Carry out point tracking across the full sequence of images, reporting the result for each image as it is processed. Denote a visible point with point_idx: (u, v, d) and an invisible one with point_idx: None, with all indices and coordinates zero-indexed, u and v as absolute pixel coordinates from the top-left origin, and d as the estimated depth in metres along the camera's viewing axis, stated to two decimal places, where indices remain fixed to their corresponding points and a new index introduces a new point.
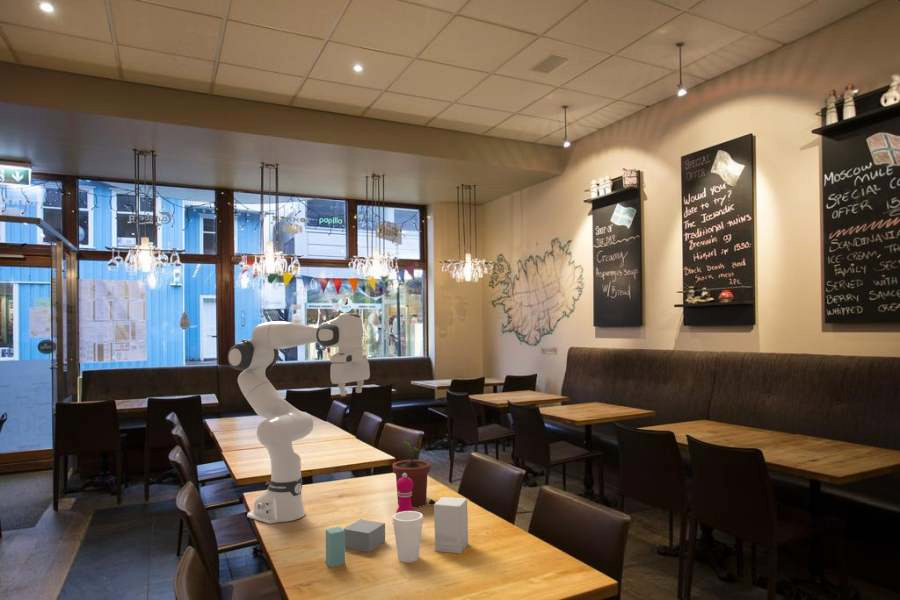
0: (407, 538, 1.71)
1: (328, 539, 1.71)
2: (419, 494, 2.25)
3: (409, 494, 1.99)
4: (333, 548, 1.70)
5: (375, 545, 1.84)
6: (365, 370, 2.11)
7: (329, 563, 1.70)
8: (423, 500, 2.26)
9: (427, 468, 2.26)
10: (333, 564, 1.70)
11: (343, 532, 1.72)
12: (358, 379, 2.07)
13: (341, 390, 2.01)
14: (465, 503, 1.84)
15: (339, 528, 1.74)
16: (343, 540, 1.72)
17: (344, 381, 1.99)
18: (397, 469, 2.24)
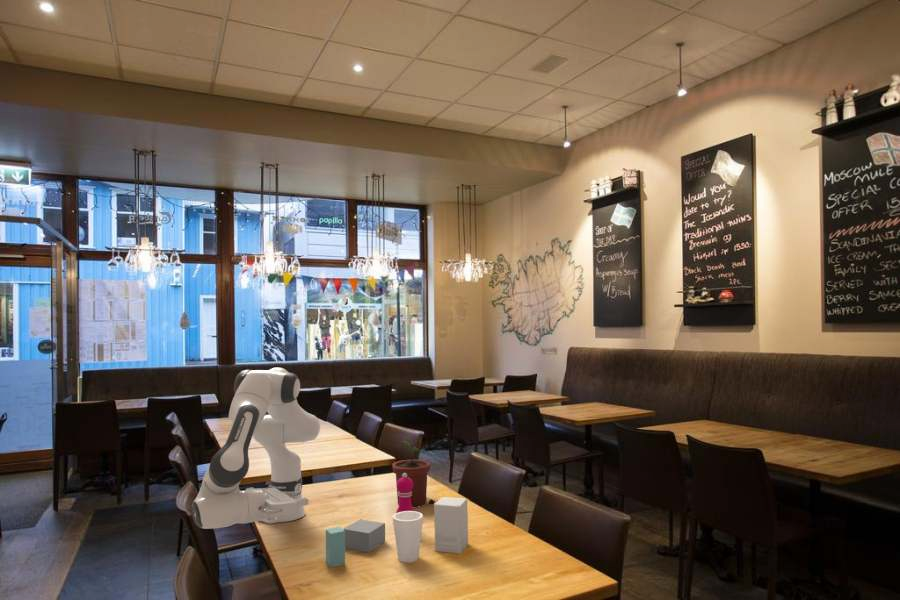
0: (407, 538, 1.71)
1: (328, 539, 1.71)
2: (419, 494, 2.25)
3: (409, 494, 1.99)
4: (333, 548, 1.70)
5: (375, 545, 1.84)
6: None
7: (329, 563, 1.70)
8: (423, 500, 2.26)
9: (427, 468, 2.26)
10: (333, 564, 1.70)
11: (343, 532, 1.72)
12: None
13: None
14: (465, 503, 1.84)
15: (339, 528, 1.74)
16: (343, 540, 1.72)
17: None
18: (397, 469, 2.25)
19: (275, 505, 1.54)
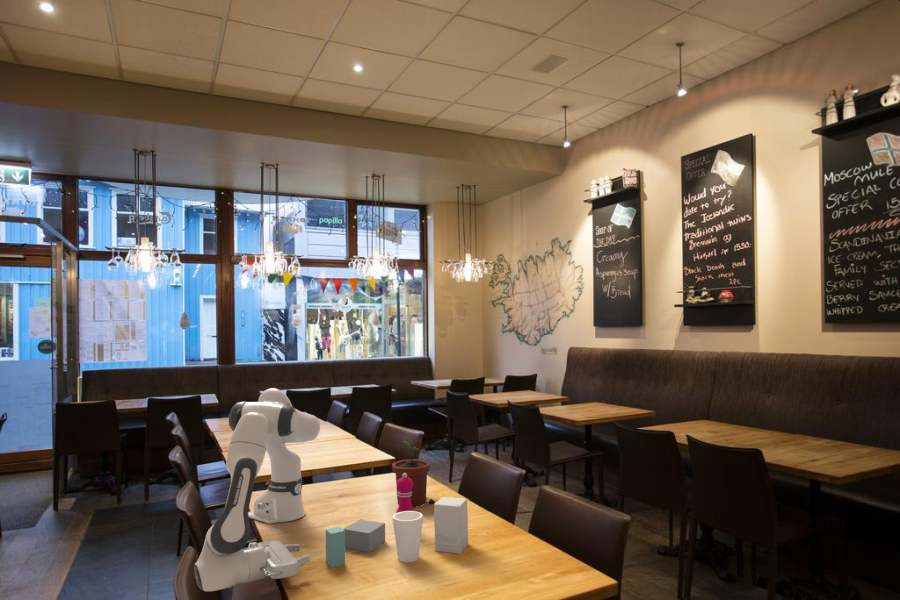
0: (407, 538, 1.71)
1: (328, 539, 1.71)
2: (419, 494, 2.25)
3: (409, 494, 1.99)
4: (333, 548, 1.70)
5: (375, 545, 1.84)
6: None
7: (329, 563, 1.70)
8: (423, 500, 2.27)
9: (427, 468, 2.27)
10: (333, 564, 1.70)
11: (343, 532, 1.72)
12: None
13: None
14: (465, 503, 1.84)
15: (339, 528, 1.74)
16: (343, 540, 1.72)
17: None
18: (397, 469, 2.25)
19: (275, 567, 1.54)
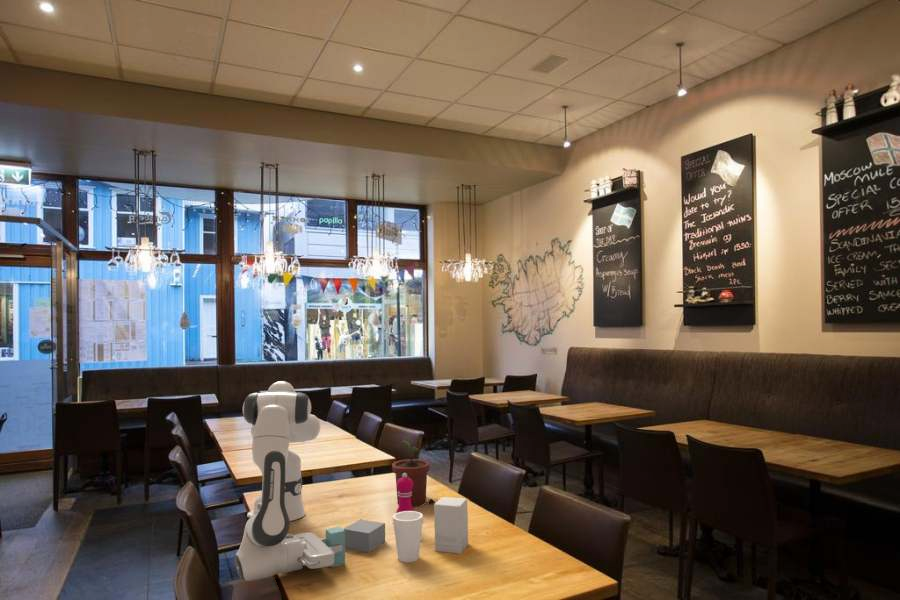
0: (407, 538, 1.71)
1: (328, 539, 1.71)
2: (418, 494, 2.25)
3: (409, 494, 1.99)
4: None
5: (375, 545, 1.84)
6: None
7: None
8: (422, 499, 2.27)
9: (426, 468, 2.27)
10: (333, 564, 1.70)
11: (343, 532, 1.72)
12: None
13: None
14: (465, 503, 1.84)
15: (339, 528, 1.74)
16: (343, 540, 1.72)
17: None
18: (396, 468, 2.25)
19: (313, 557, 1.59)
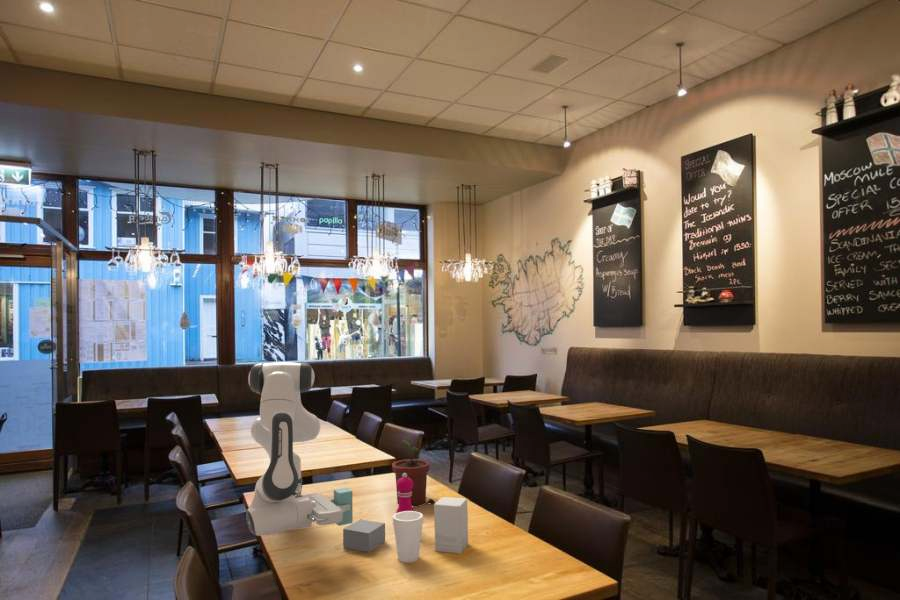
0: (407, 538, 1.71)
1: (336, 499, 1.76)
2: (418, 494, 2.26)
3: (409, 494, 1.99)
4: None
5: (375, 545, 1.84)
6: None
7: None
8: (422, 499, 2.27)
9: (426, 467, 2.27)
10: (341, 523, 1.75)
11: (351, 492, 1.77)
12: None
13: None
14: (465, 503, 1.84)
15: (347, 489, 1.79)
16: (351, 500, 1.77)
17: None
18: (396, 468, 2.26)
19: (322, 514, 1.64)
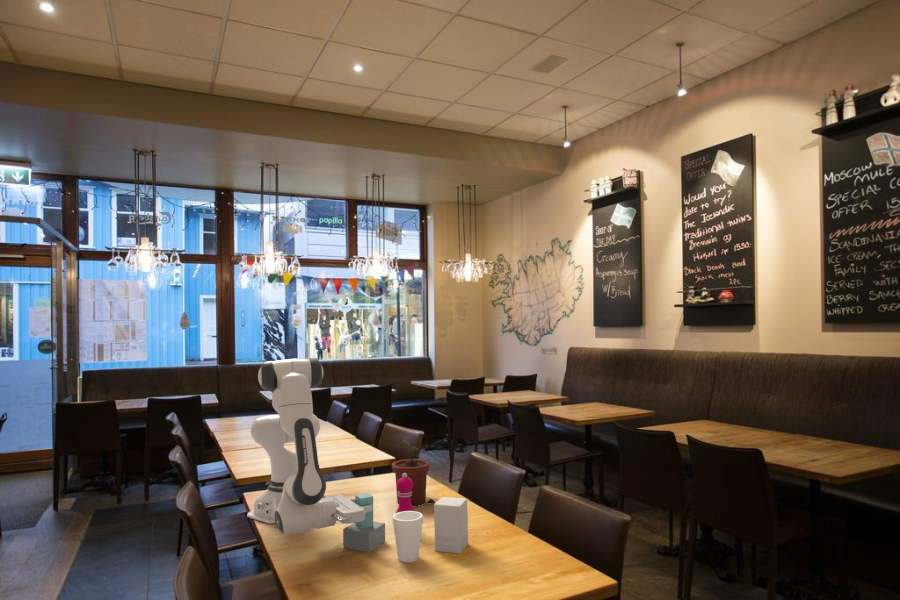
0: (407, 538, 1.71)
1: (358, 504, 1.86)
2: (418, 494, 2.26)
3: (409, 494, 1.99)
4: None
5: (375, 545, 1.84)
6: None
7: (359, 525, 1.85)
8: (422, 499, 2.27)
9: (426, 467, 2.27)
10: (363, 526, 1.84)
11: (372, 497, 1.87)
12: None
13: None
14: (465, 503, 1.84)
15: (367, 494, 1.89)
16: None
17: None
18: (396, 468, 2.26)
19: (346, 513, 1.74)
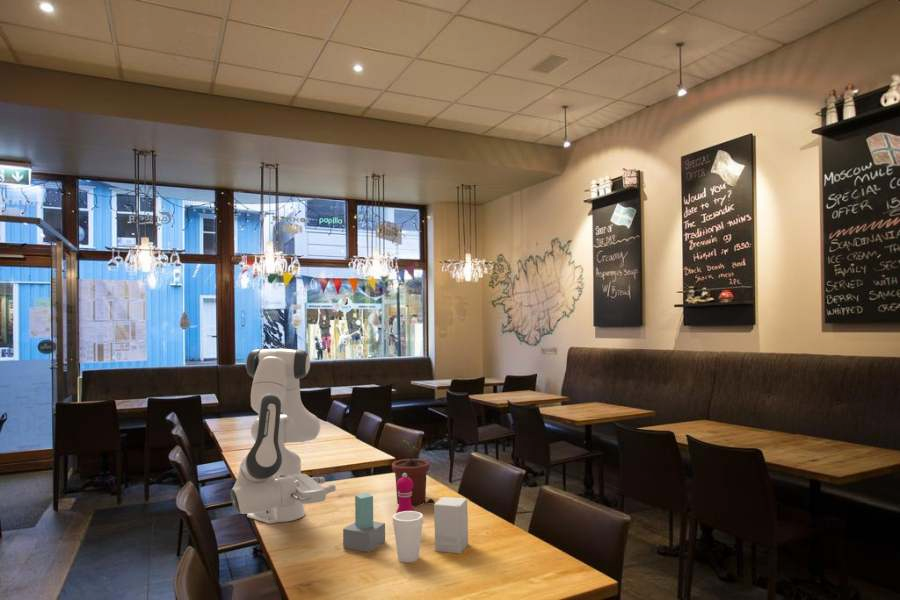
0: (407, 538, 1.71)
1: (358, 504, 1.86)
2: (418, 493, 2.26)
3: (409, 494, 1.99)
4: (363, 511, 1.85)
5: (375, 545, 1.84)
6: None
7: (359, 525, 1.85)
8: (422, 499, 2.28)
9: (426, 467, 2.28)
10: (363, 526, 1.84)
11: (371, 497, 1.87)
12: None
13: None
14: (465, 503, 1.84)
15: (367, 494, 1.89)
16: (371, 505, 1.86)
17: None
18: (396, 468, 2.26)
19: (305, 493, 1.68)
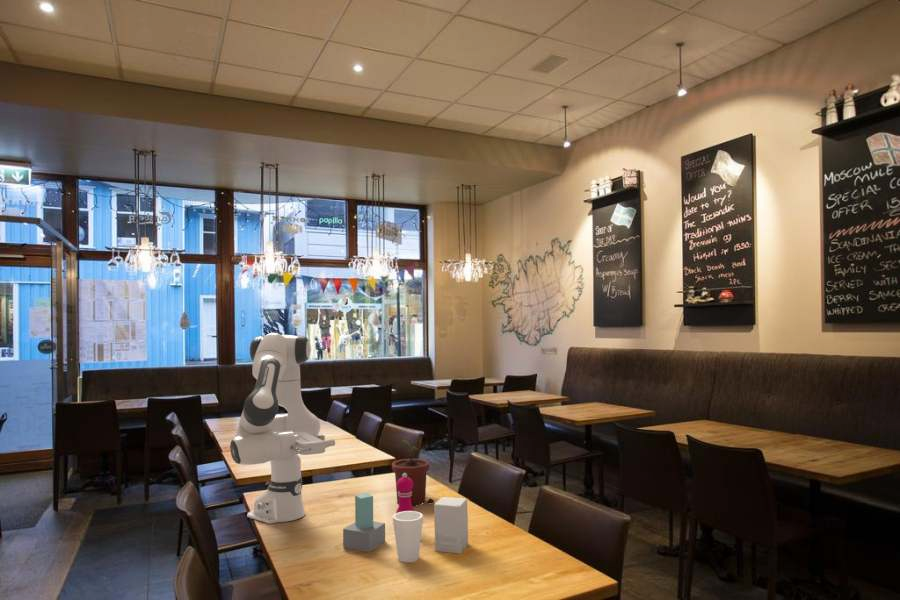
0: (407, 538, 1.71)
1: (358, 504, 1.86)
2: (418, 493, 2.26)
3: (409, 494, 1.99)
4: (363, 511, 1.85)
5: (375, 545, 1.84)
6: None
7: (359, 525, 1.85)
8: (422, 499, 2.28)
9: (426, 467, 2.28)
10: (363, 526, 1.84)
11: (371, 497, 1.87)
12: None
13: None
14: (465, 503, 1.84)
15: (367, 494, 1.89)
16: (371, 505, 1.86)
17: None
18: (396, 468, 2.26)
19: (305, 444, 1.68)
